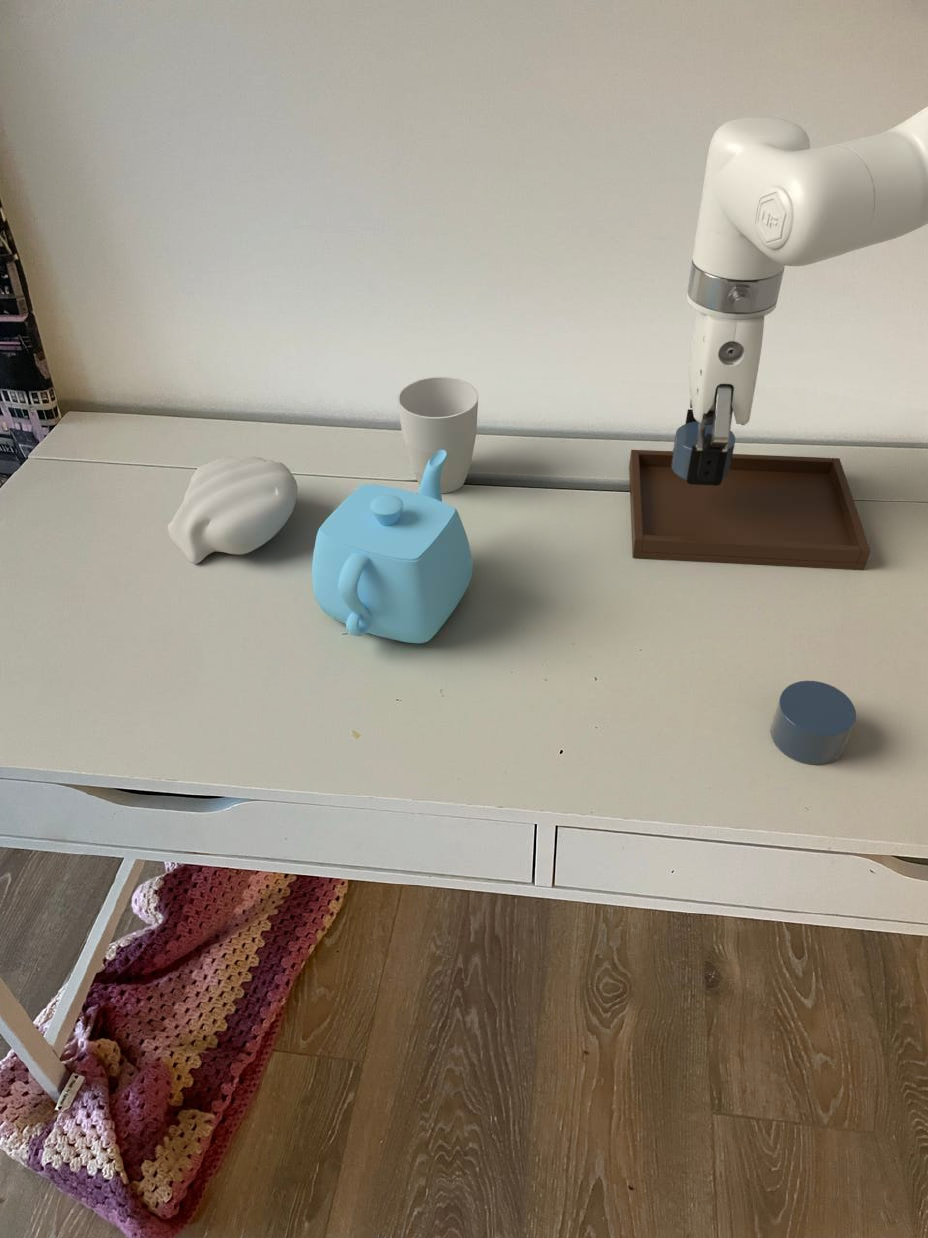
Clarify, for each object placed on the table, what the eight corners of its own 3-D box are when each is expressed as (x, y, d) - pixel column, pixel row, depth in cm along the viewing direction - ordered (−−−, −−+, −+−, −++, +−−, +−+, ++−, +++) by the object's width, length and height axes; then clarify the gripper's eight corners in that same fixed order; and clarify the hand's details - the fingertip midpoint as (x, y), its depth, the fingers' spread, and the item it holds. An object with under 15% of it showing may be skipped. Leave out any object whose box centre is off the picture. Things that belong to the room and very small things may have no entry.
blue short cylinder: (736, 460, 93) (742, 429, 90) (719, 489, 89) (725, 458, 87) (681, 446, 95) (686, 415, 92) (662, 474, 91) (667, 443, 89)
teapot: (503, 556, 91) (504, 456, 83) (417, 680, 79) (409, 576, 71) (391, 525, 95) (382, 426, 87) (293, 638, 83) (273, 535, 75)
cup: (489, 465, 102) (488, 383, 96) (464, 508, 97) (462, 423, 90) (419, 453, 104) (414, 371, 98) (392, 494, 99) (384, 410, 92)
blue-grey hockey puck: (851, 725, 74) (863, 695, 72) (835, 775, 71) (847, 745, 69) (780, 701, 76) (789, 671, 74) (762, 749, 73) (771, 719, 71)
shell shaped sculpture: (307, 491, 100) (298, 438, 95) (298, 567, 90) (289, 512, 86) (183, 497, 99) (169, 444, 95) (162, 574, 90) (146, 520, 85)
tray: (834, 476, 100) (839, 457, 98) (864, 570, 88) (870, 551, 87) (629, 467, 102) (631, 449, 100) (632, 558, 90) (634, 539, 89)
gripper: (794, 332, 73) (750, 519, 85) (766, 245, 85) (731, 419, 97) (696, 328, 73) (666, 515, 86) (682, 243, 86) (658, 416, 98)
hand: (701, 462), depth 91 cm, fingers closed on blue short cylinder, 5 cm apart
